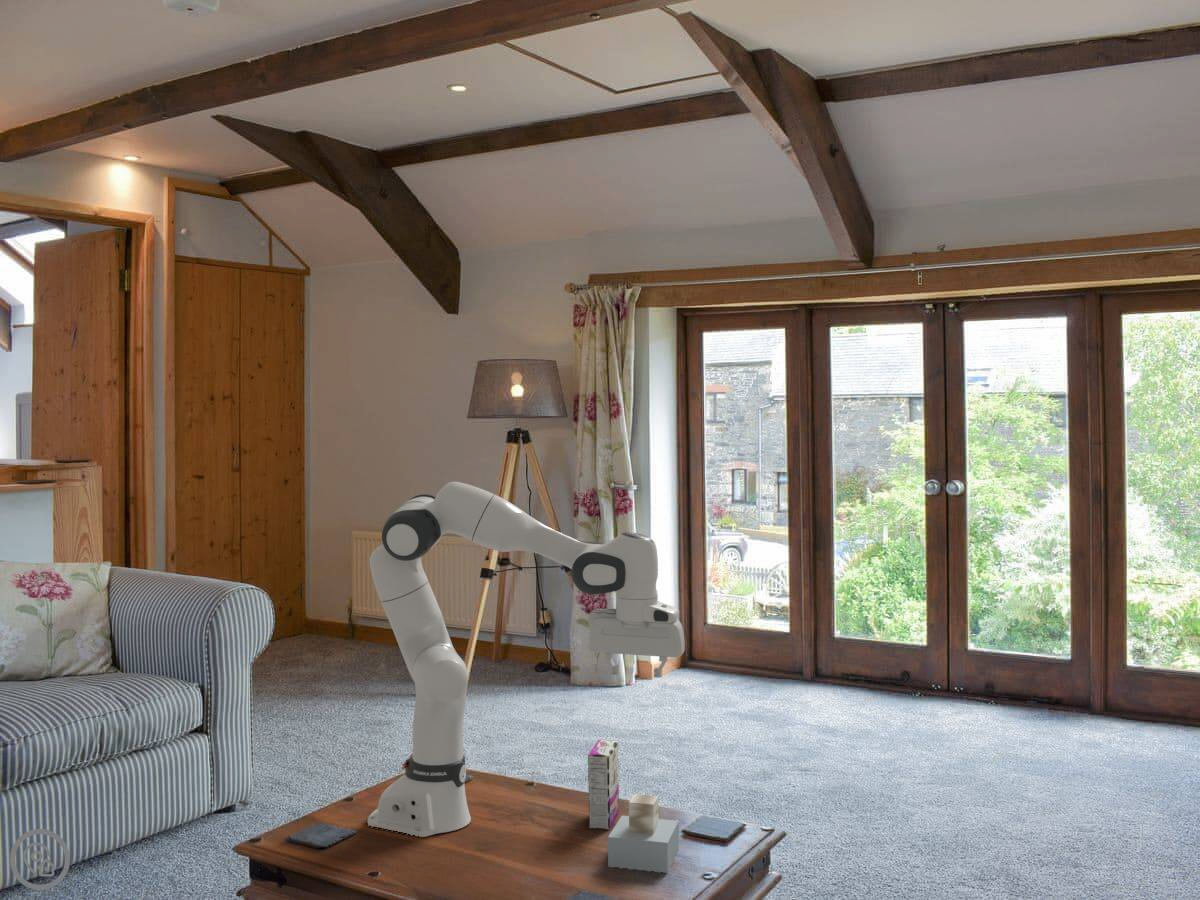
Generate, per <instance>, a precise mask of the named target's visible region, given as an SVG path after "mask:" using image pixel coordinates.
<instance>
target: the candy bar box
mask: <svg viewBox="0 0 1200 900" xmlns="http://www.w3.org/2000/svg"><path fill="white" fill-rule="evenodd" d="M587 759H588V760H587V762H588V764H587V765H588V766H587V768H588V770H587V771H588V772H587V773H588V774H587V775H588V776H587V777H588V781H587V782H588V827H589V829H592V828H593V830H609V831H610V830H611V828H612V827H613V824H614V822H615V820H616V818H617V816H618V814H619V813H620V806H619V805H620V803H619V801H620V800H619V799H620V795H619V793H620V792H619V789H620V788H619V785H620V784H619V781H620V780H619V740H611V739H597V741H596V743H595V744H594V746H592V748H591V750H590V751H589V753H588V754H587Z"/></svg>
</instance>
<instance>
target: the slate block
mask: <svg viewBox="0 0 1200 900" xmlns="http://www.w3.org/2000/svg"><path fill="white" fill-rule="evenodd" d="M679 827H680V821H679V820H673V819H672V820H671V819H665V818H659V825H658V827H657V829H656V831H655V833H654V834H644V833H634V832H629V815H621V816H620V818H619V819H618V821H617V822H616V824H615V826H614V827H613V829H612V830H611V831H610V833H609V835H608V836H607V867H608V868H614V867H620V868H619V869H623V868H628V869H627V870H633V869H640V870H639V871H642V870H647V871H646V872H651V871H654V873H661V872H663V874H668V873H669V871H670V869H671V867H672V865H673V863H674V861H675V859H674V858H676V857H675V856H677V854H678V852H679V850H680V846H679V845H680V843H679V842H680V841H679V838H680V834H679V833H680V830H679V829H680V828H679ZM673 860H674V861H673ZM672 862H673V863H672Z"/></svg>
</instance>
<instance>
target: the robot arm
mask: <svg viewBox="0 0 1200 900" xmlns="http://www.w3.org/2000/svg"><path fill="white" fill-rule="evenodd" d="M447 534H454V535H458V536H460V537H462V538H465V539H467V540H468V541H470V542H472V543H474V544H476V545H479V546H481V547H484V548H485V549H490V550H494V551H495V552H496V551H497V552H501V553H509V552H529V553H530V552H531V553H534V554H538V555H541V556H542V557H545V558H547V559H550V560H552V561H553V562H556V563H559V564H560V565H563V566H565V567H567V568H569V569H570V570H571V572H570V573H571V580H572V582H573V585H575V587H576V589H578V590H579V591H580V592H582V593H584V594H587V595H590V596H598V595H602V594H608V593H613V592H615V608H603V607H602V608H601V607H597V608H595V609H594V610H592V611H590V613H589V614H588V625H589V628H590V630H589V636H588V649H589V650H590V652H592V653H600V654H601V653H602V654H604V660H605V661H606V662H607V664H608V666H609V673H610V674H609V675H618V674H619V671H620V670H619V668H620V667H619V664H615V661H614V659H613V657H614V655H615V654H617V655H632V656H649V657H659V658H658V659H659V660H658V661H659V662H660V664H659V666H658V667H654V668H653V677H654V678H662V677H663V668H664V667H665V665H666V663H667V662H668V658H677V659H678V658H679V657H681V656H682V655H684V652H685V649H686V648H685V647H686V646H685V645H686V643H685V633H684V628H683V625H682V622H681V621H680V620H678V619H679V618H680V610H679V608H677V607H675V606H672V605H669V604H667V603H665V602H662V601H659V599H658V598H659V597H658V596H659V595H658V590H657V580H658V576H659V561H658V560H659V559H658V550H657V545H656V543H655V541H654V540H653V539H652V538H651V537H649V536H647V535H644V534H642V533H639V532H638V533H636V532H627V531H626V532H621V533H619V535H617V536H616V537H614V538H612V539H611V540H609V541H607V542H601V541H600V542H599V541H585V540H584V541H583V540H580V539H577V538H575V537H572V536H570V535H568V534H565V533H563V532H560V531H559V530H556V529H554V528H552V527H550V526H547V525H545V524H543V523H542V522H541V521H538V520H537V519H536V518H534V517H533V516H531V515H530V514H528V513H526V512H525V511H523V510H522V509H521V508H519V507H518V506H516V505H515V504H513V503H511V502H510V501H508V500H507V499H505V498H503V497H502V496H499V495H497V494H495V493H492V492H490V491H488V490H485V489H482V488H481V487H477V486H474V485H471V484H469V483H464V482H460V481H450V482H447V483H446V484H445V485H443V486H442V487H441V488H440V489H439V490H438V492H437V494H436V495H433V494H426V493H425V494H419V495H416V496H413V497H412V498H410V499H409V500H407V501H406V502H404V503H403V504H401V505H400V506H399V507H397V509H396V510H395V512H393V514H391V515H390V516H389V517H388V518H387V520H386V521H385V523H384V526H383V528H382V532H381V541H382V544H380V545H379V546H377V547H376V548H375V549H374V550H373V551H372V553H371V554H370V557H369V567H370V568H369V569H370V573H371V576H372V581H373V583H374V587H375V591H376V593H377V595H378V598H379V601H380V603H381V606H382V608H383V611H384V612H385V615H386V618H387V620H388V622H389V625H390V627H391V630H392V631H393V634H394V637H395V640H396V642H397V644H398V647H399V650H400V652H401V655H402V658H403V660H404V662H405V665H406V667H407V670H408V672H409V675H410V678H411V680H412V681H413V683H414V686H415V701H414V710H413V712H414V713H413V720H412V754H410V756H409V757H408V758H407V759H406V760H405V761H404V763H402V764H401V770H405V773H404V774H403V775H402V776H400V777H399V778H398V779H396V780H395V781H394V782H393V783H392V784H390V785H389V786H388V787H386V789H384V790H383V791H382V793H381V795H380V798H379V801H378V806H377V808H376V809H375V810H374V811H372V812H371V814H369V816H368V817H367V821H366V822H367V823H368V825H371V826H376V827H381V828H384V829H389V830H394V831H398V832H403V833H407V834H406V835H408V834H410V835H409V836H413V835H415V836H414V837H418V836H419V838H426V837H429V836H433V835H436V834H442V833H443V834H444V833H449V832H453V831H456V830H460V829H462V828H465V827H466V826H468V825H469V824H470V823H471V821H472V817H471V815H470V811H469V807H468V801H467V795H466V788H465V782H466V778H467V777H466V776H467V768H466V756H465V755H464V717H465V711H466V702H467V690H468V684H469V683H468V682H469V681H468V680H469V673H468V668H467V665H466V663H465V661H464V660H463V659H462V658H461V656H460V655H459V653H458V652H457V651H456V649H455V648H454V646H453V643H452V639H451V637H450V635H449V631H448V629H447V627H446V622H445V620H444V617H443V613H442V610H441V608H440V606H439V603H438V601H437V598H436V596H435V593H434V591H433V589H432V586H431V585H430V581H429V579H428V577H427V574H426V572H425V571H424V567H423V564H422V563H423V562H422V557H423V556H425V555H426V554H427V553H429V551H430V550H432V549H433V548H434V547H435V546H436V545H437V544H438V543H439V541H440V540H441V538H442V537H443V536H444V535H447ZM367 823H366V824H367ZM368 825H367V826H368ZM398 832H397V833H398ZM403 833H402V834H403Z"/></svg>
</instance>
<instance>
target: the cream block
mask: <svg viewBox="0 0 1200 900" xmlns="http://www.w3.org/2000/svg"><path fill="white" fill-rule="evenodd" d="M659 797H660V796H659V795H652V794H651V795H650V794H649V795H648V794H639V793H634V794H633V796H632V797H631V799H630V800H629V801H628V816H629V832H634V833H644V834H654V833H655V831H656V829H657V827H658V825H659V819H660V818H659V815H660V814H659V806H660V805H659V801H660V800H659V799H660V798H659Z"/></svg>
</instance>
